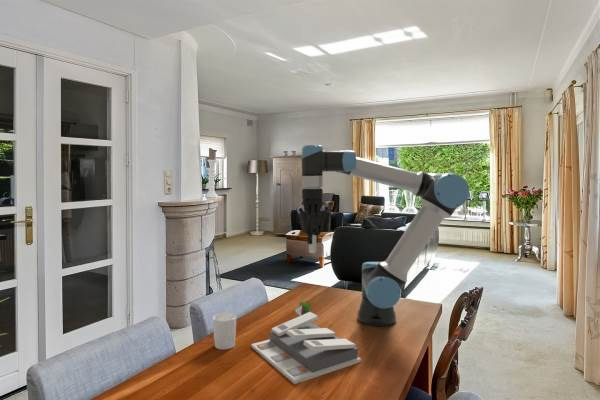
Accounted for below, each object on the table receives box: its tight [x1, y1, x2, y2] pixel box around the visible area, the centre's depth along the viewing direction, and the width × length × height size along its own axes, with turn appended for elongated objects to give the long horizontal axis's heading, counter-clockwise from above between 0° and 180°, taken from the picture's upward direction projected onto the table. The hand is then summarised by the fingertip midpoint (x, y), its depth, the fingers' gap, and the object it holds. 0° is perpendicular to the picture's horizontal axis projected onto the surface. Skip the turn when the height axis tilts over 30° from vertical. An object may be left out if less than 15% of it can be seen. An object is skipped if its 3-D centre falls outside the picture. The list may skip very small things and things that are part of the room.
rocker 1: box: [271, 311, 319, 337], centre depth 136 cm, size 16×5×1 cm, turn 122°
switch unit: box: [250, 322, 362, 385], centre depth 126 cm, size 24×28×4 cm
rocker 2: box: [286, 327, 336, 339], centre depth 127 cm, size 16×5×1 cm, turn 123°
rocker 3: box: [303, 338, 356, 351], centre depth 119 cm, size 16×5×1 cm, turn 123°
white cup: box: [212, 312, 237, 351], centre depth 133 cm, size 8×8×10 cm
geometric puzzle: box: [294, 301, 315, 317], centre depth 157 cm, size 7×7×8 cm
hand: (312, 252), depth 143 cm, fingers closed
